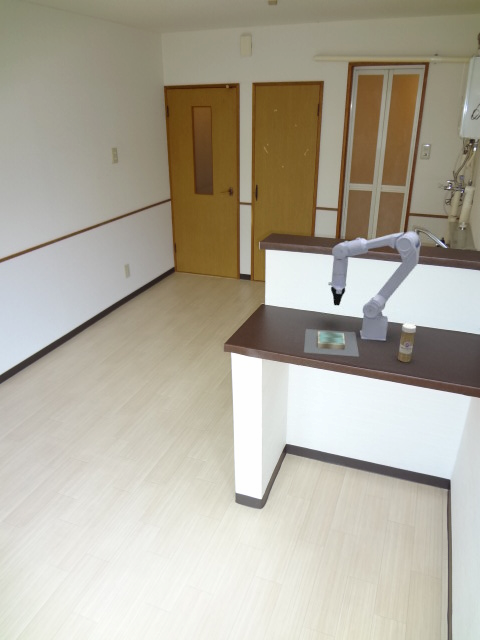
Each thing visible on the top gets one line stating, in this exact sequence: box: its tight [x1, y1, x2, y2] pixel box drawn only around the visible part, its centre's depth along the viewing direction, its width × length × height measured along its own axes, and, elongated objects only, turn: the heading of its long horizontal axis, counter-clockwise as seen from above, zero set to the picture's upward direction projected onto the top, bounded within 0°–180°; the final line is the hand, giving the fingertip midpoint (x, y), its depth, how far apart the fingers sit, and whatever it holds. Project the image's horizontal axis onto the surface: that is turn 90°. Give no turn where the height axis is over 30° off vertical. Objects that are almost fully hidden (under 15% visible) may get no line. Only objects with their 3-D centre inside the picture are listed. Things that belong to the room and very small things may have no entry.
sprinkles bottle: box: [397, 323, 417, 363], centre depth 163 cm, size 5×5×14 cm
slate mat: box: [303, 328, 360, 358], centre depth 178 cm, size 20×22×1 cm
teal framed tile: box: [318, 331, 345, 350], centre depth 177 cm, size 10×2×11 cm
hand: (336, 304), depth 188 cm, fingers closed
